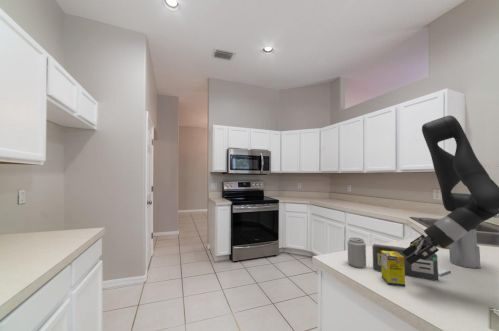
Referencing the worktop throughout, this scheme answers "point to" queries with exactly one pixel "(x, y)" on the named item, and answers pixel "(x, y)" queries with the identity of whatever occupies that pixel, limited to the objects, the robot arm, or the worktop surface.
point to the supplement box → (393, 268)
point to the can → (356, 252)
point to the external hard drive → (443, 271)
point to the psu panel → (417, 269)
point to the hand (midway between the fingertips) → (406, 257)
